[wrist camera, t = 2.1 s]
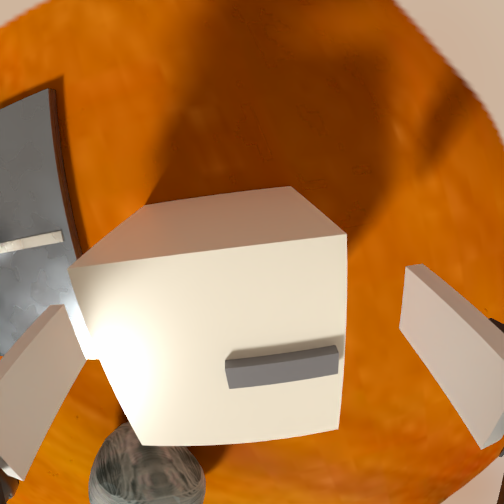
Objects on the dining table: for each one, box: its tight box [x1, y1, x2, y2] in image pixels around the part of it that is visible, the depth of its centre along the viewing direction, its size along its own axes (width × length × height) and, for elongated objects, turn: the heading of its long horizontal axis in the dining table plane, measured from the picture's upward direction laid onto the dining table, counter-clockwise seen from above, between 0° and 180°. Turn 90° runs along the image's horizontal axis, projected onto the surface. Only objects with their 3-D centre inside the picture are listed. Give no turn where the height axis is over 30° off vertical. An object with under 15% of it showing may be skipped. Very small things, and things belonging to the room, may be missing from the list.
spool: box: [89, 422, 206, 504], centre depth 19 cm, size 14×10×10 cm
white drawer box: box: [67, 186, 347, 446], centre depth 13 cm, size 7×7×9 cm
